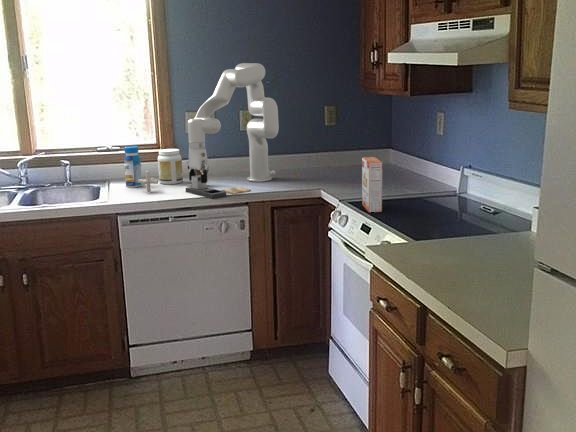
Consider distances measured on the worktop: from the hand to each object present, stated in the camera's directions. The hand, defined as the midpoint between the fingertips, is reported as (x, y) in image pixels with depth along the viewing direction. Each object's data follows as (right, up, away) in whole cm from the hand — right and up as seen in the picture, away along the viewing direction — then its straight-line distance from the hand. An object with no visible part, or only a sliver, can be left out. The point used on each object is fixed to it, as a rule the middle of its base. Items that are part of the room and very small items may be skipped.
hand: (198, 181), depth 310 cm
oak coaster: (+18, -4, +3) cm, 18 cm away
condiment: (-2, -2, +18) cm, 18 cm away
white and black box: (0, -5, +2) cm, 6 cm away
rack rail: (+4, -6, -2) cm, 7 cm away
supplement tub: (-18, +1, +28) cm, 33 cm away
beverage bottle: (-35, -1, +21) cm, 41 cm away
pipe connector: (-25, -5, +6) cm, 26 cm away
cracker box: (+77, -14, -37) cm, 87 cm away
